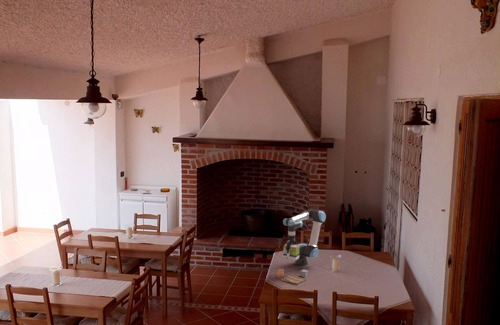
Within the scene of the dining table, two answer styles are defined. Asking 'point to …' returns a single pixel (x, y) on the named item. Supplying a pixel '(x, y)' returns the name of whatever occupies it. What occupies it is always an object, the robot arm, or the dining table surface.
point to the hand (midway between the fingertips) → (291, 254)
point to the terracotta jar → (280, 273)
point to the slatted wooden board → (293, 279)
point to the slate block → (304, 273)
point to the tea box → (291, 252)
